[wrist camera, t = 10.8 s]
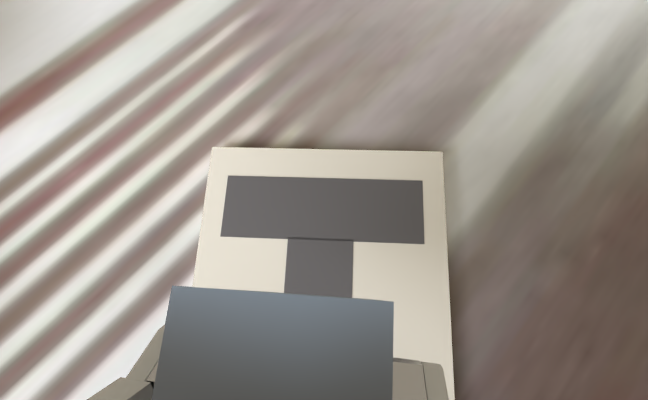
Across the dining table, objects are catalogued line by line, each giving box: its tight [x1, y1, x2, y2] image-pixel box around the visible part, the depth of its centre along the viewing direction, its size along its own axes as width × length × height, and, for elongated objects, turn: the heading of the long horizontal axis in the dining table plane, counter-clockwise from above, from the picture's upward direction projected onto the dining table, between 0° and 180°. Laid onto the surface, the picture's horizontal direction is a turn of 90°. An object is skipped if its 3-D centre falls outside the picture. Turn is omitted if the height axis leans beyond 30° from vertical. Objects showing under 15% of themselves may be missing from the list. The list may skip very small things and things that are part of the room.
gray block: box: [152, 286, 394, 400], centre depth 10 cm, size 4×4×8 cm
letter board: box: [192, 147, 455, 400], centre depth 23 cm, size 20×17×1 cm
